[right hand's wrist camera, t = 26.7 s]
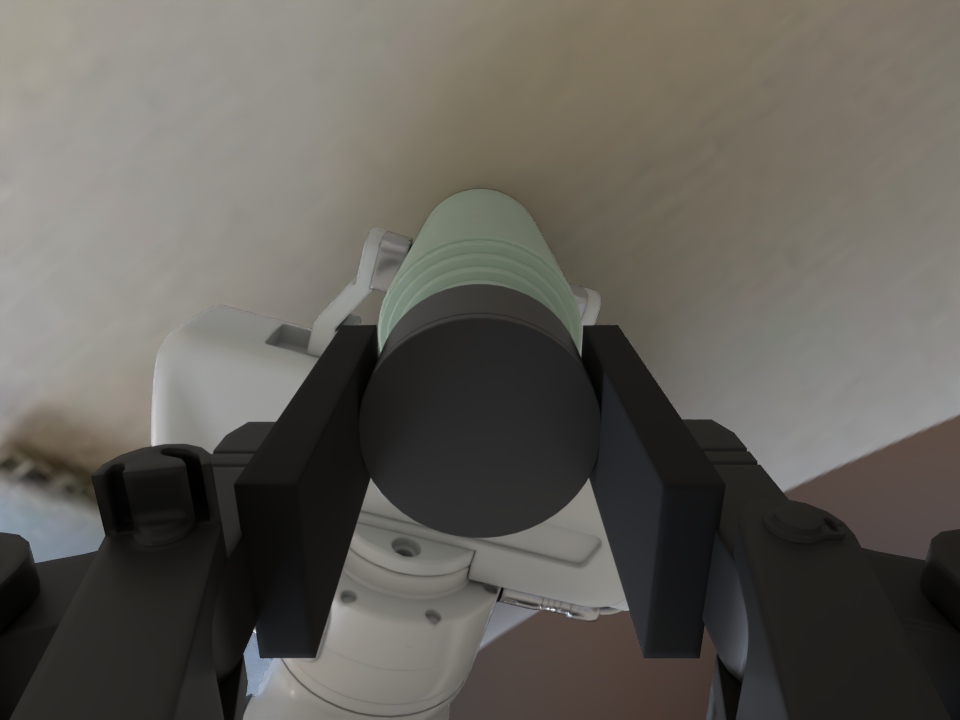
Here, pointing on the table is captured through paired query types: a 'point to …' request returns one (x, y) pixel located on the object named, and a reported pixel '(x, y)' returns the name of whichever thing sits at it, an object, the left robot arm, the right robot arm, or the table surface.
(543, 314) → the cap
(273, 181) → the table surface
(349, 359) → the right robot arm
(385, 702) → the left robot arm
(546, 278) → the bottle
